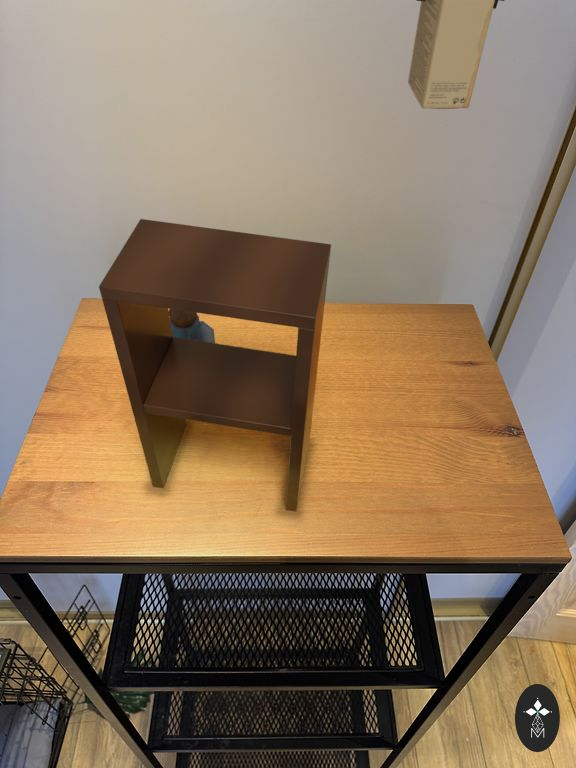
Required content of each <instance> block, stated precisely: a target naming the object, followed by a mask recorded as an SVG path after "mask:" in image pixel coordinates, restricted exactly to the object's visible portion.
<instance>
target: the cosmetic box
mask: <svg viewBox="0 0 576 768" xmlns="http://www.w3.org/2000/svg"><path fill="white" fill-rule="evenodd" d="M494 2H495V0H425V2H423V1H420V6H419V12H418V19H417V25H416V30H415V37H414V43H413V49H412V56H411V62H410V67H409V74H408V79H407V84H408V86H409V87H410V89H411V91H412V94H413V95H414V97H415V99H416V101H417V102H418V104H419V105H420V107H421V109H423V110H424V109H425V110H427V109H430V110H431V109H432V110H455V109H468V108H470V104H471V100H472V96H473V93H474V92H473V91H474V88H475V83H476V79H477V75H478V71H479V67H480V64H481V63H480V62H481V59H482V55H483V51H484V47H485V42H486V38H487V36H488V35H487V34H488V30H489V27H490V23H491V18H492V14H493V10H494V9H493V6H494Z"/></svg>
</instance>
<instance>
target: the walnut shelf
mask: <svg viewBox="0 0 576 768" xmlns="http://www.w3.org/2000/svg"><path fill="white" fill-rule="evenodd" d="M331 250H332V244H330V243H324V242H316V241H309V240H303V239H302V240H301V239H293V238H286V237H279V236H271V235H263V234H257V233H250V232H241V231H233V230H226V229H220V228H212V227H206V226H205V227H204V226H199V225H198V226H197V225H190V224H189V225H188V224H184V223H183V224H182V223H174V222H166V221H161V220H152V219H144V218H140V219H139V221H138V222H137V224H136V226H135V227H134V228H133V230H132V232H131V234H130V235H129V237H128V238H127V240H126V241H125V243H124V245H123V246H122V248H121V250H120V252H119V253H118V255H117V256H116V258H115V259H114V261H113V263H112V265H111V266H110V268H109V269H108V271H107V272H106V274H105V276H104V277H103V279H102V280H101V282H100V284H99V285H98V289H99V292H100V297H101V299H102V300H101V301H102V305H103V307H104V311H105V315H106V318H107V322H108V326H109V330H110V333H111V337H112V341H113V345H114V349H115V352H116V355H117V360H118V363H119V368H120V371H121V374H122V377H123V381H124V386H125V389H126V392H127V396H128V401H129V405H130V407H131V411H132V415H133V419H134V423H135V426H136V430H137V433H138V436H139V440H140V445H141V446H142V447H141V448H142V451H143V455H144V459H145V462H146V466H147V470H148V473H149V477H150V480H151V485H152V487H153V488H159V489H164V488H165V485H166V483H167V480H168V477H169V474H170V471H171V468H172V465H173V463H174V460H175V457H176V454H177V452H178V450H179V447H180V445H181V441H182V439H183V436H184V432H185V431H186V427H187V425H188V424H187V420H188V421H193V422H199V423H206V424H212V425H216V426H217V425H219V426H222V427H223V426H224V427H229V428H236V429H243V430H247V431H255V432H260V433H266V434H273V435H277V436H278V435H279V436H285V437H290V440H289V441H290V443H289V454H288V455H289V458H288V471H287V484H286V485H287V486H286V498H285V499H286V500H285V510H286V511H291V512H294V513H295V512H297V511H298V507H299V501H300V496H301V490H302V485H303V479H304V474H305V468H306V463H307V457H308V451H309V446H310V439H311V431H312V430H311V429H312V422H313V421H312V420H313V412H314V403H315V395H316V386H317V385H316V384H317V376H318V366H319V356H320V350H321V341H322V332H323V331H322V330H323V323H324V322H323V320H324V315H325V314H324V313H325V305H326V295H327V286H328V277H329V270H330V269H329V268H330V259H331ZM169 309H175V310H182V311H189V312H196V313H197V314H202V315H203V314H204V315H211V316H215V317H216V316H217V317H224V318H231V319H237V320H245V321H249V322H250V321H251V322H257V323H258V322H259V323H264V324H272V325H279V326H286V327H290V328H291V327H292V328H297V339H296V340H297V341H296V353H295V354H296V355H293V354H287V353H282V352H281V353H280V352H274V351H269V350H261V349H255V348H248V347H242V346H235V345H229V344H221V343H216V342H215V343H209V342H203V341H196V340H189V339H183V338H176V337H173V336H172V330H171V323H170V316H169Z"/></svg>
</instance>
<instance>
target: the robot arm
mask: <svg viewBox="0 0 576 768" xmlns="http://www.w3.org/2000/svg"><path fill="white" fill-rule="evenodd" d="M421 1H423V2H425V0H416V2H421ZM499 2H505V0H495V2H494V6H493V10H496V9H497V6H498V3H499Z"/></svg>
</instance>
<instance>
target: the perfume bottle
mask: <svg viewBox="0 0 576 768" xmlns="http://www.w3.org/2000/svg"><path fill="white" fill-rule="evenodd" d="M168 311H169V317H170V323H171V330H172V336H173V337H176V338H183V339H189V340H196V341H203V342H209V343H216V340H215V339H216V338H215V330H214V328H213V327H212V326H211V325H209V324H208V323H206V321H204V320H200V317H199V315H198V313H196V312H189V311H182V310H175V309H169V308H168Z"/></svg>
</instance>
